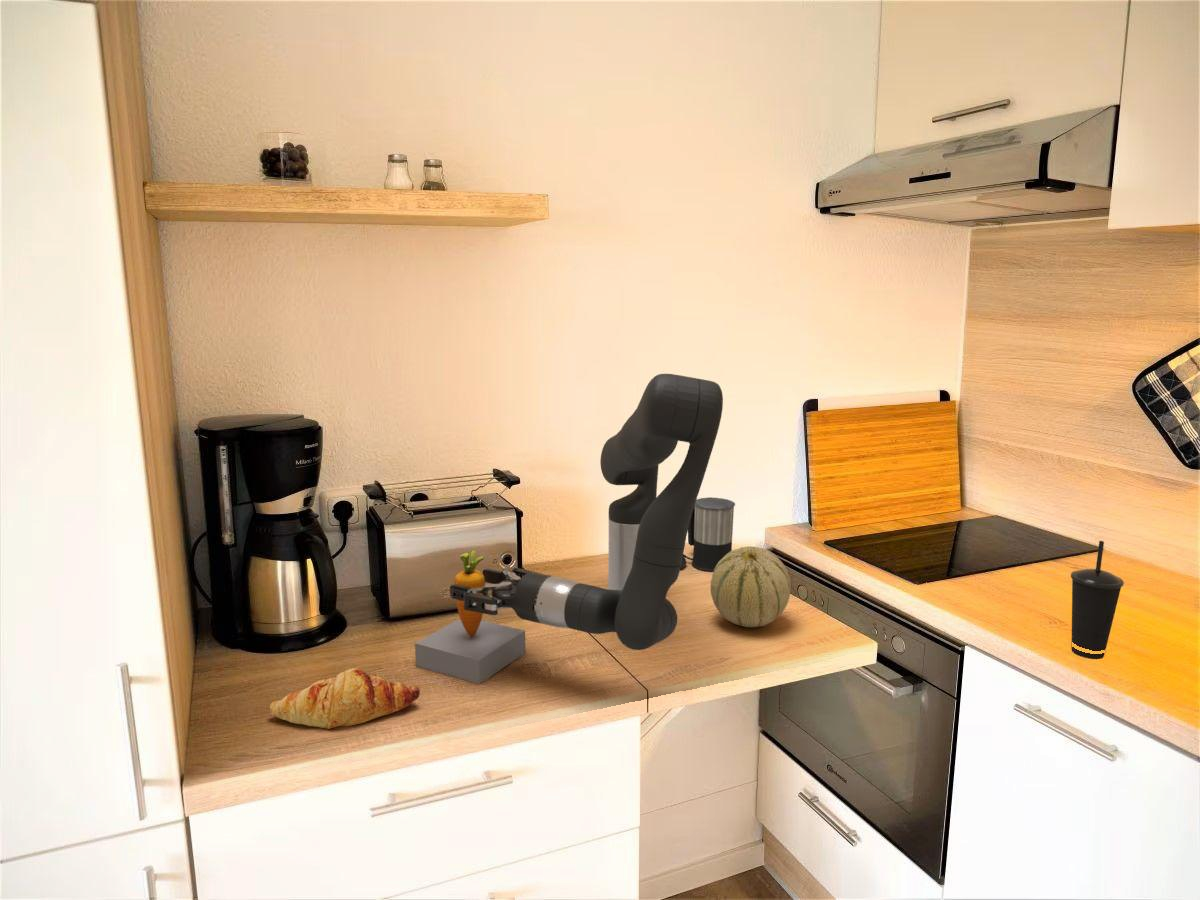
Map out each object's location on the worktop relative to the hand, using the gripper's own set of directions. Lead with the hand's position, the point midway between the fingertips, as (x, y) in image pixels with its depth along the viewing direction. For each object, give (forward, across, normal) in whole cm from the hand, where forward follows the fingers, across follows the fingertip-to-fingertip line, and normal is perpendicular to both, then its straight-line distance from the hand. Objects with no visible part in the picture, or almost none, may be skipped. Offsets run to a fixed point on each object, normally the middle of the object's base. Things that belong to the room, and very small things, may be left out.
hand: (467, 582), depth 134 cm
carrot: (0, 0, +10) cm, 10 cm away
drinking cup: (-91, -53, +14) cm, 106 cm away
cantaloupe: (-36, -37, +14) cm, 54 cm away
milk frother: (-15, -62, +14) cm, 65 cm away
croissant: (+5, +23, +14) cm, 27 cm away
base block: (0, 0, +14) cm, 14 cm away
